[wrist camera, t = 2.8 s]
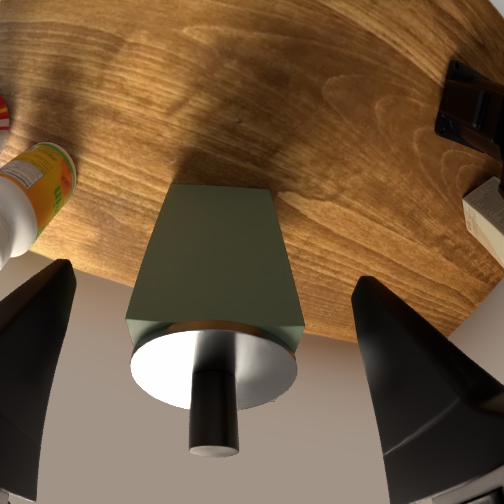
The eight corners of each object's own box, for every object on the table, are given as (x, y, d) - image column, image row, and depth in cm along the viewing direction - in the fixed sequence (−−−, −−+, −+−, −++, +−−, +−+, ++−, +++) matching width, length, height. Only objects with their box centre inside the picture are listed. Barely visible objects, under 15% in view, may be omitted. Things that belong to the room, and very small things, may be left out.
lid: (315, 320, 11) (338, 414, 8) (279, 403, 16) (287, 466, 13) (115, 312, 10) (91, 407, 7) (146, 399, 15) (139, 463, 12)
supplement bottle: (67, 214, 21) (9, 300, 13) (18, 186, 19) (-50, 259, 11) (88, 158, 18) (14, 234, 11) (33, 129, 16) (-54, 188, 9)
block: (269, 189, 21) (305, 326, 11) (257, 265, 25) (274, 402, 16) (170, 183, 20) (124, 318, 11) (173, 261, 24) (150, 397, 15)
